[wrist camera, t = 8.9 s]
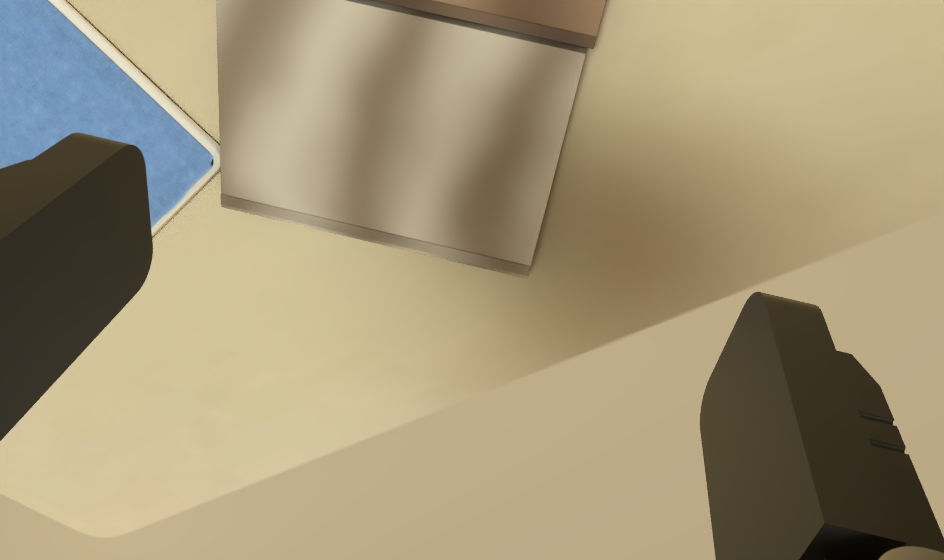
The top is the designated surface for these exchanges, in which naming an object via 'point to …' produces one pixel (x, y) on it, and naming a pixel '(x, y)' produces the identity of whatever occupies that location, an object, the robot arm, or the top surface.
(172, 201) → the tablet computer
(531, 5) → the laid board
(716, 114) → the top surface
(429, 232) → the plank
